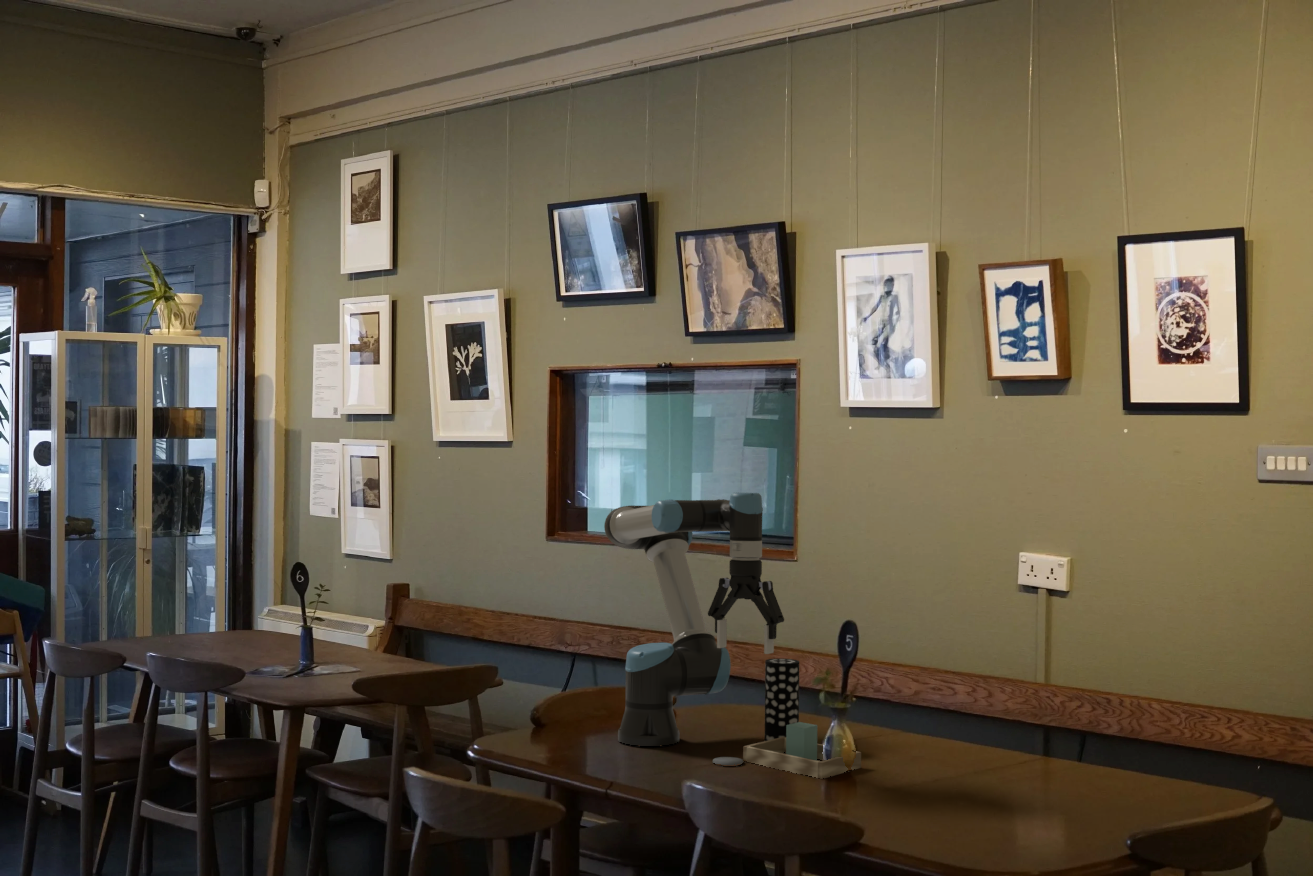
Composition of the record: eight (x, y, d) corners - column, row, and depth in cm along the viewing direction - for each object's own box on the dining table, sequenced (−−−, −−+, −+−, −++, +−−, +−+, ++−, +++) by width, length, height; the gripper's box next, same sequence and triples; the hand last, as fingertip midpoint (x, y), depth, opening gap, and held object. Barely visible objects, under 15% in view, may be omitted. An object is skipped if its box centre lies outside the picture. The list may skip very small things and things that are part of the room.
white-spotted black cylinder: (798, 740, 309) (799, 659, 310) (798, 747, 301) (799, 664, 301) (764, 738, 310) (765, 658, 310) (764, 746, 302) (765, 663, 302)
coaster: (706, 763, 284) (706, 760, 284) (726, 758, 289) (726, 755, 289) (729, 768, 279) (730, 765, 279) (749, 763, 284) (749, 760, 284)
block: (786, 765, 283) (786, 725, 283) (799, 761, 287) (799, 722, 287) (803, 768, 280) (804, 728, 280) (817, 765, 283) (817, 725, 283)
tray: (743, 761, 285) (743, 746, 285) (783, 751, 296) (783, 736, 296) (821, 779, 270) (821, 763, 270) (860, 767, 281) (861, 752, 281)
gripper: (693, 556, 296) (693, 646, 295) (780, 562, 279) (780, 657, 279) (713, 555, 301) (712, 643, 301) (799, 560, 285) (798, 654, 284)
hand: (745, 650), depth 290 cm, fingers open, 13 cm apart
